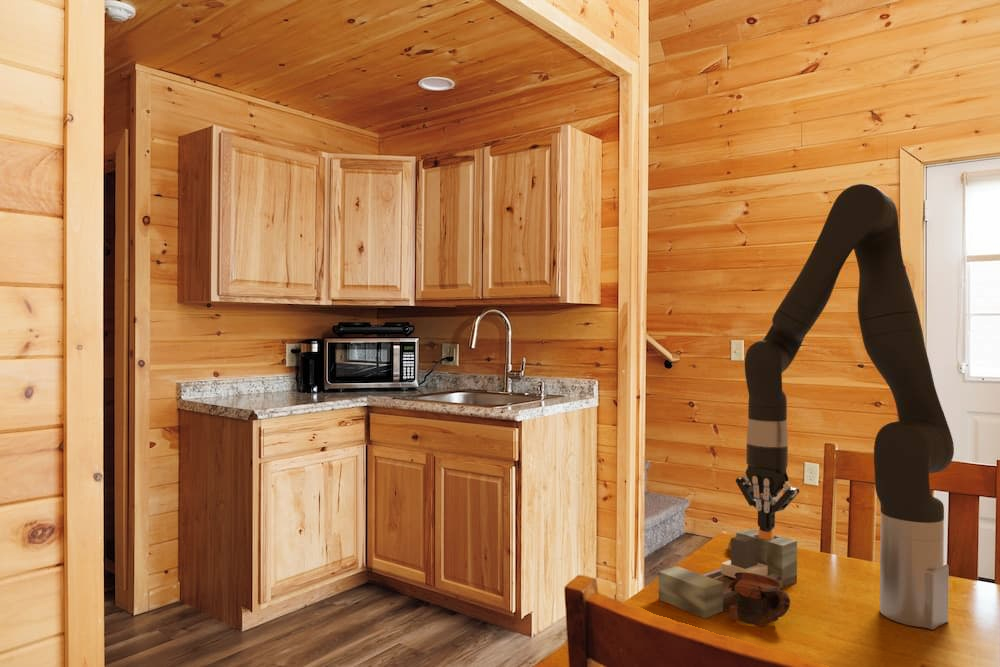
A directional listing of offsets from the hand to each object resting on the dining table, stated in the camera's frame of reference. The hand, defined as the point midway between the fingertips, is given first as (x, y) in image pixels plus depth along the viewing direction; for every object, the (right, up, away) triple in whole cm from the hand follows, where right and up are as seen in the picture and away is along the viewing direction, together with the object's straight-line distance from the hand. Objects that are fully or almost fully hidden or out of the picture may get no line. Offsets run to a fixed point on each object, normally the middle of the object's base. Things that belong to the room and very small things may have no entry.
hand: (765, 530), depth 134 cm
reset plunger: (0, -6, 0) cm, 6 cm away
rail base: (-9, -9, -7) cm, 15 cm away
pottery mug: (-8, -10, -19) cm, 23 cm away
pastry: (+1, -10, +15) cm, 18 cm away
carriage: (-6, -7, -4) cm, 10 cm away
